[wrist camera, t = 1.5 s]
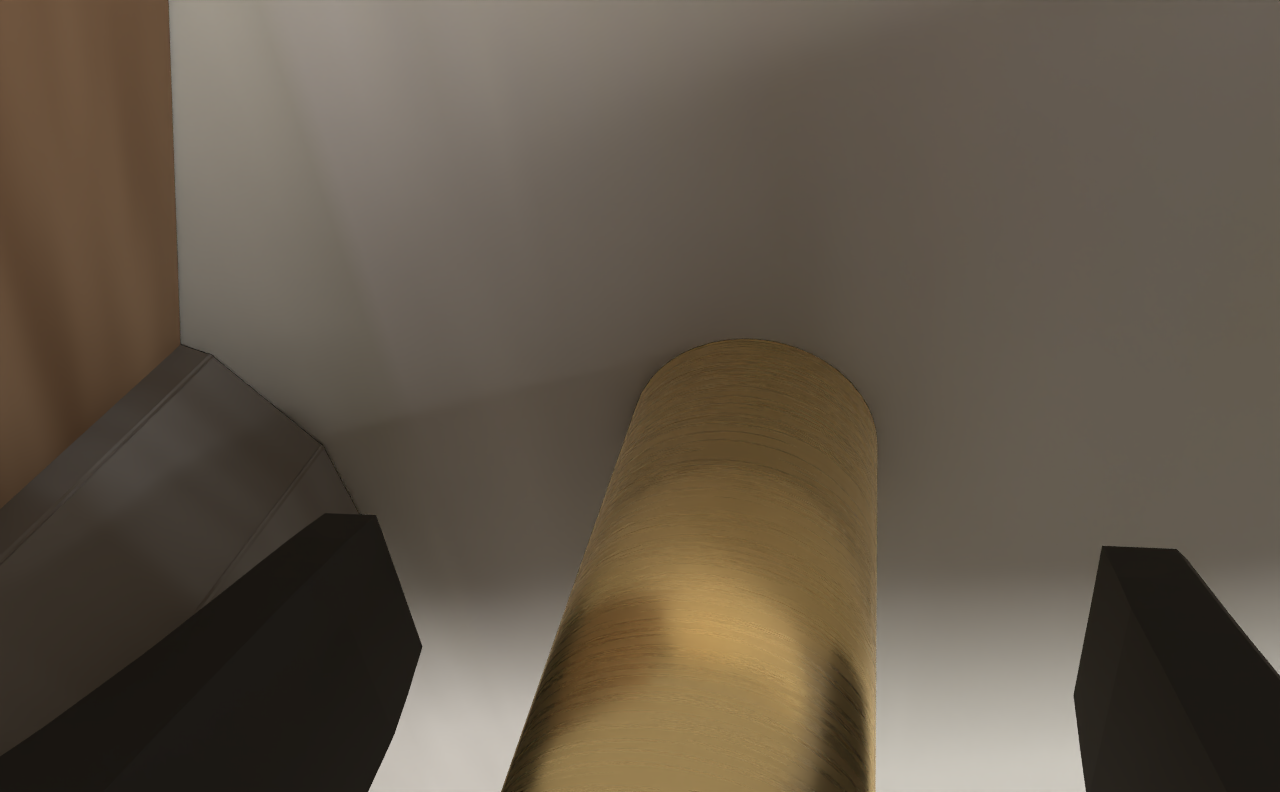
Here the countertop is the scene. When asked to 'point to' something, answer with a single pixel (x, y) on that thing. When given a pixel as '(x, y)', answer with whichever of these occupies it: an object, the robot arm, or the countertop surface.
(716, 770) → the pin
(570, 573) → the countertop surface
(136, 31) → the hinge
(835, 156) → the countertop surface
